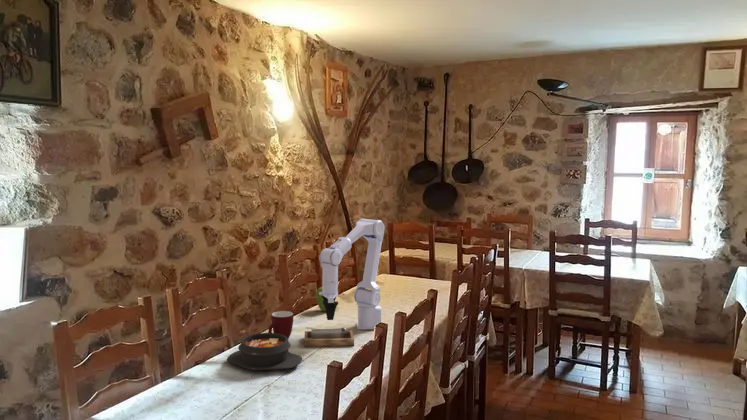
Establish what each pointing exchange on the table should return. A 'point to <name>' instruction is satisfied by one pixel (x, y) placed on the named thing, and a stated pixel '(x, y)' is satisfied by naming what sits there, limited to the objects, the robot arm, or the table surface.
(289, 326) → the mug
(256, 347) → the casserole
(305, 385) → the table surface
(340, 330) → the slotted metal channel
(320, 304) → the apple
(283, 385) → the table surface
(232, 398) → the table surface
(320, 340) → the wooden tray
